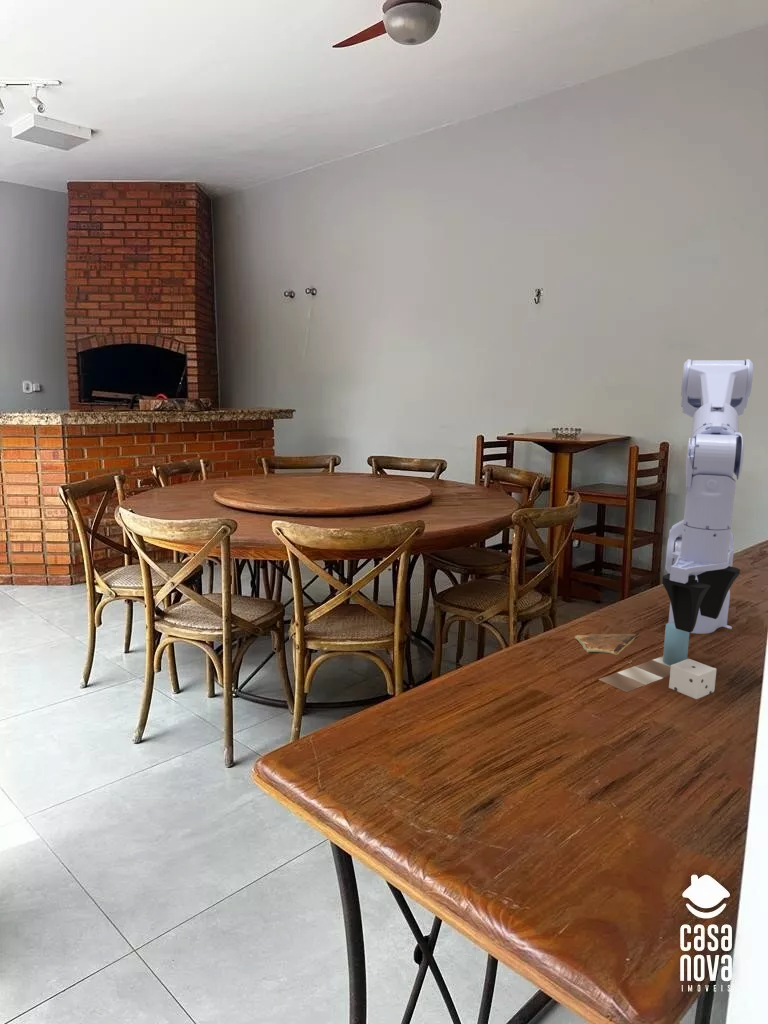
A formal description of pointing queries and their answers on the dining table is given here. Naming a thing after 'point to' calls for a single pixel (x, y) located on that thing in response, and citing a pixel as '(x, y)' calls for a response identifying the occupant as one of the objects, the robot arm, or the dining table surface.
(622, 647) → the shard
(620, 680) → the board
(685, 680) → the die
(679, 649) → the blue capsule cylinder
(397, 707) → the dining table surface
